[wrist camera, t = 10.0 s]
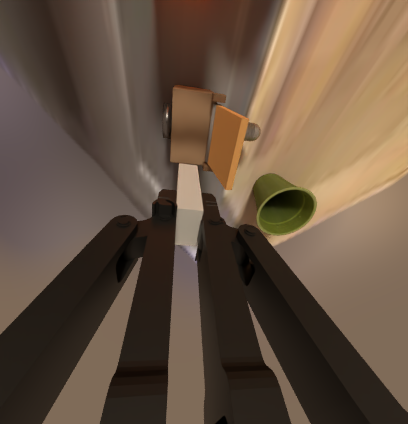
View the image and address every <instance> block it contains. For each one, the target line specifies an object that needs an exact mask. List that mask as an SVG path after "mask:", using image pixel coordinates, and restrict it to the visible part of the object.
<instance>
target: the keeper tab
mask: <svg viewBox="0 0 408 424" xmlns="http://www.w3.org/2000/svg"><path fill="white" fill-rule="evenodd" d="M248 122H249V119H248V118H246V117H244V116H242V115H240V114H238V113H236V112H234V111H232V110H230V109H228V108H226V107H224V106H222V105H220V104H213V107H212V114H211V121H210V128H209V136H208V143H207V150H206V157H205V162H207V163H208V165H209V166H210V168H211V169H212V171H213V172H214V174H215V175H216V177H217V178H218V179H219V181H220V182H221V184H222V185H223V187H224V188H225V190H232V186H233V182H234V178H235V174H236V170H237V166H238V162H239V158H240V154H241V150H242V146H243V142H244V138H245V134H246V130H247V126H248Z"/></svg>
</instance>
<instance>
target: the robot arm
mask: <svg viewBox="0 0 408 424" xmlns="http://www.w3.org/2000/svg"><path fill="white" fill-rule="evenodd" d="M197 241H198V248H197V253H196V257H195V261H197V267H198V283H199V298H200V314H201V330H202V346H203V362H204V378H205V400H204V424H291V422H290V418H289V415H288V411H287V408H286V405H285V402H284V398H283V395H282V392H281V388H280V386H279V383H278V380H277V378H276V376H275V374H274V372H273V371H272V370H271V369H270V368H269V367H268V366H266V364H265V363H264V360H263V358H262V354H261V351H260V347H259V343H258V340H257V336H256V332H255V329H254V325H253V321H252V318H251V314H250V311H249V307H248V303H249V305H250V307H251V308H252V311H253V312H254V315H255V317H256V318H257V320H258V322H259V324H260V326H261V328H262V330H263V332H264V334H265V336H266V338H267V340H268V342H269V344H270V345H271V348H272V349H273V351H274V353H275V355H276V357H277V359H278V361H279V363H280V365H281V367H282V369H283V371H284V373H285V375H286V377H287V379H288V380H289V382H290V384H291V386H292V388H293V390H294V392H295V394H296V396H297V398H298V400H299V402H300V404H301V406H302V408H303V409H304V411H305V414H306V415H307V417H308V419H309V421H310V423H311V424H408V412H407V411H405V409H403V408H402V406H401V405H400V404H399V403H398V402H397V400H396V399H395V398H394V397H393V395H392V394H391V393H390V392H389V390H388V389H387V388H386V387H385V386H384V384H383V383H382V382H381V381H380V379H379V378H378V377H377V376H376V374H375V373H374V372H373V371H372V369H371V368H370V367H369V366H368V364H367V363H366V362H365V361H364V359H363V358H362V357H361V356H360V354H359V353H358V352H357V351H356V349H355V348H354V347H353V346H352V345H351V343H350V342H349V341H348V340H347V338H346V337H345V336H344V335H343V333H342V332H341V331H340V330H339V328H338V327H337V326H336V325H335V324H334V322H333V321H332V320H331V318H330V317H329V316H328V315H327V314H326V312H325V311H324V310H323V309H322V307H321V306H320V305H319V304H318V303H317V301H316V300H315V299H314V297H313V296H312V295H311V294H310V292H309V291H308V290H307V289H306V288H305V286H304V285H303V284H302V283H301V281H300V280H299V279H298V278H297V276H296V275H295V274H294V273H293V271H292V270H291V269H290V268H289V266H288V265H287V264H286V263H285V261H284V260H283V259H282V258H281V257H280V255H279V254H278V253H277V251H275V249H274V248H273V247H272V245H271V244H270V243H269V242H268V240H267V239H266V238H265V237H264V235H263V234H262V233H261V232H260V231H259V230H258V229H257V228H256V227H254V226H252V225H247V224H244V225H241V226H240V227H239V229H236V228H233V227H230V226H228V225H226V222H225V221H224V219H223V218H221V217H220V214H219V210H218V206H217V202H216V198H215V197H214V196H213V195H212V194H208V193H201V189H200V182H199V175H198V167H197V165H189V164H181V163H179V170H178V180H177V191H175V190H166V189H163V190H161V191H160V192H159V195H158V199H157V200H155V201H154V202H153V203H152V217H151V218H149V219H147V220H143V221H137V219H135V218H134V217H132V216H129V215H121V216H117V217H114V218H113V219H112V220H111V221H110V222H109V223H108V224H107V225H106V226H105V227H104V228H103V229H102V230H101V231H100V232H99V233H98V234H97V235H96V236H95V237H94V238H93V239H92V240H91V241H90V242H89V244H87V245H86V247H85V248H84V249H83V250H82V251H81V252H80V253H79V254H78V255H77V256H76V257H75V258H74V259H73V260H72V261H71V262H70V263H69V264H68V265H67V266H66V267H65V268H64V269H63V270H62V271H61V272H60V273H59V275H57V277H56V278H55V279H54V280H53V281H52V282H51V283H50V284H49V285H48V286H47V287H46V288H45V289H44V290H43V291H42V292H41V293H40V294H39V295H38V296H37V297H36V298H35V299H34V300H33V301H32V303H31V304H30V305H29V306H28V307H27V308H26V309H25V310H24V311H23V312H22V313H21V314H20V315H19V316H18V317H17V318H16V319H15V320H14V321H13V322H12V323H11V324H10V325H9V326H8V327H7V328H6V330H5V331H3V333H2V334H1V335H0V424H42V423H43V421H44V420H45V418H46V416H47V414H48V413H49V411H50V409H51V407H52V406H53V404H54V402H55V400H56V399H57V397H58V396H59V394H60V392H61V390H62V389H63V387H64V385H65V384H66V382H67V380H68V379H69V377H70V375H71V373H72V372H73V370H74V368H75V367H76V365H77V363H78V361H79V360H80V358H81V356H82V354H83V353H84V351H85V349H86V348H87V346H88V344H89V342H90V341H91V339H92V337H93V336H94V334H95V332H96V331H97V329H98V327H99V326H100V324H101V322H102V321H103V319H104V317H105V315H106V314H107V312H108V310H109V309H110V307H111V305H112V303H113V302H114V300H115V298H116V297H117V295H118V293H119V291H120V290H121V288H122V286H123V285H124V283H125V281H126V280H127V278H128V276H129V274H130V273H131V271H132V269H133V267H134V266H135V264H136V262H137V261H138V258H140V257H143V258H142V262H141V267H140V271H139V276H138V280H137V284H136V289H135V293H134V297H133V302H132V307H131V310H130V315H129V319H128V324H127V328H126V332H125V337H124V341H123V345H122V349H121V354H120V358H119V362H118V366H117V370H116V372H115V374H114V376H113V377H112V380H111V383H110V386H109V389H108V393H107V396H106V401H105V404H104V409H103V413H102V417H101V421H100V424H166V409H167V387H168V355H169V338H170V337H169V336H170V321H171V319H170V318H171V302H172V285H173V267H174V250H175V245H189V246H196V245H197ZM247 301H248V303H247Z"/></svg>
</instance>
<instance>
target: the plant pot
mask: <svg viewBox="0 0 408 424" xmlns="http://www.w3.org/2000/svg"><path fill="white" fill-rule="evenodd" d="M253 192H254V197H255V201H256V206H257V216H256V220H257V224H258V226H259V228H260V229H261V230H262V231H263V232H265V233H267V234H270V235H276V236H279V235H286V234H290V233H293V232H295V231H297V230H299V229H301V228H302V227H303V226H305V225H306V224H307V223H308V222H309V221H310V220H311V218H312V217H313V215H314V213H315V211H316V207H317V201H316V198H315V196H314V195H313V193H312V192H310V191H309V190H307V189H305V188H301V187H297V186H294V185H292V184H291V183H289V182H288V181H286V180H285V179H283V178H282V177H280V176H278V175H276V174H266V175H263V176H262V177H260V178H259V179H258V180H257V181H256V183H255V185H254V187H253Z"/></svg>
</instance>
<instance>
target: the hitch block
mask: <svg viewBox="0 0 408 424" xmlns="http://www.w3.org/2000/svg"><path fill="white" fill-rule="evenodd" d="M225 100H226V95H224V94H217V93H214V92H212V91H211V90H207V89H201V88H195V87H188V86H182V85H175V86H174V88H173V101H172V130H171V159H170V162H176V163H187V164H197V165H202V167H203V171H212V169H211V168H210V166H209V165H208V163H207V162H205V157H206V150H207V143H208V136H209V128H210V121H211V114H212V107H213V104H217V102H222V103H225ZM212 172H213V171H212Z"/></svg>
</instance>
